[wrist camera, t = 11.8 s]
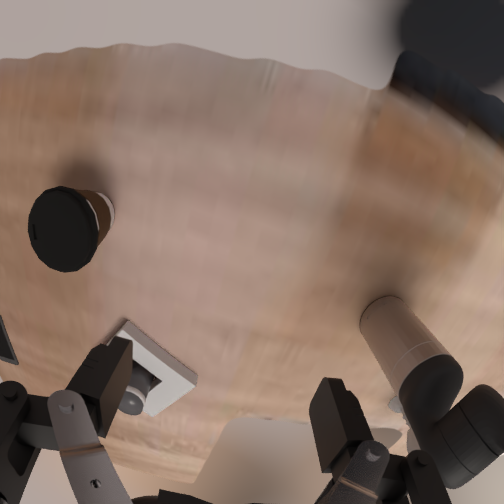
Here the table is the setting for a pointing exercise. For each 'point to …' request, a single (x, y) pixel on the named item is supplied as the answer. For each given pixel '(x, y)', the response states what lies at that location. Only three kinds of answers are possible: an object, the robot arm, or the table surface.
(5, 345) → the cell phone
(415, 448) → the chalice
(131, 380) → the lens
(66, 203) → the coffee cup
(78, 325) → the table surface
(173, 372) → the plate
